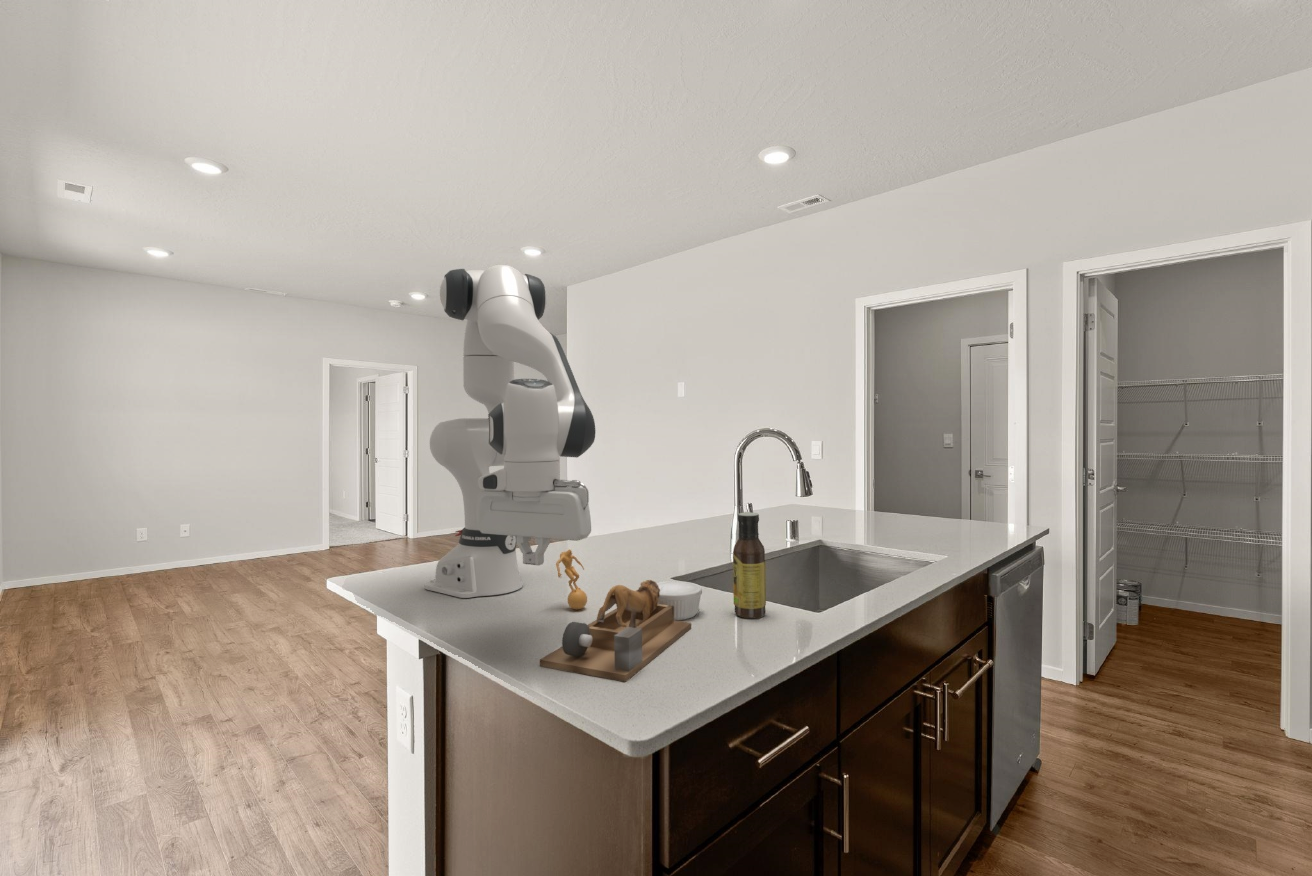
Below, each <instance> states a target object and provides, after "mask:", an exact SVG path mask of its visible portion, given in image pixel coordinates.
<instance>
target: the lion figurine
mask: <svg viewBox="0 0 1312 876" xmlns="http://www.w3.org/2000/svg"><path fill="white" fill-rule="evenodd" d="M657 583H658V582H656V581H654V580H652V579H646V580H643V581H641V582H640V583H639V585H640V586H639V587H638V589H636V590H632V589H631V588H628V587H627V586H625V585H622V584H617V585H615V586H612V587H611V588H610V589H609V591H608V593H607V594H606V596H605V598H604V602H603V605H602V606H601V607H600V608H599V610H598V613H597V616H596V621H597V622H600V623H603V622H604V620H603V619H604V617H605V615H606V612H607V611H609V610H610V609H612V607H614V605H616V606H615V607H616V608H617V614H616V619H617V621H618V624H619V626H621V627H626V624H625V623H623V622H622V614H623V612H624V610H625V609H626V610H627V611H630V612H631V620H630V624H629V627H632V628H636V627H635V622H636V616H637V614H638V613H640V614H642V615H643V622H645V621H646V620H648V619H649V617H650V614H651V613H652V612H653V611H654V610H655V609H656V607H657V604H658V601H659V597H660V589H659V587H658V585H657ZM643 622H642V623H643Z"/></svg>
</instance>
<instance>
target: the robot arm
mask: <svg viewBox="0 0 1312 876" xmlns="http://www.w3.org/2000/svg"><path fill="white" fill-rule="evenodd" d="M439 287H440V289H439V299H440V303H441V305H442V308H443V310H444V311H443V312H444V313H445V314H446V315H447V316H448V317H449V318H452V319H455V320H458V321H460V320H461V321H464V320H466V325H465V330H464V331H465V332H464V337H463V338H464V339H463V355H462V356H463V358H462V359H463V360H462V361H463V363H462V364H463V367H462V368H463V370H462V371H463V375H462V376H463V388H464V391H465V393H466V394H467V395H468V397H470V398H471V399H473V400H474V401H476V402H479V403H480V404H482V405H484V406H485V408H486V409H487V412H488V414H487V416H488V417H487V418H477V417H476V418H467V417H466V418H457V419H456V418H455V419H449V420H445V421H441V422H439V423H438V424H436V426H435V427H434V428H433V430H432V432H431V434H430V438H429V449H430V452H431V455H432V457H433V459H434V460H435V461H436V462H437V463H438V464H439V465H440V466H442V467H443V468H445V469H446V470H447V471H449V473H451V475H452V476H453V477H454V478H455V480H456V482H457V484H458V485H459V487H460V490H461V494H462V501H463V512H464V527H463V528H462V529H460V530H456V531H455V533H457V534H455V537H459V536H460V537H459V540H458V544H456V546H454V547H453V548H452V549H451V550H449V551H448V552H447V553H446V554H445V555H444V556H442V557H441V558H440V559H439V560H438V562H437V564H436V569H435V577H434V579H432V580H429V581H427V582H426V583H425V584H424V589H425V590H428V591H433V592H436V593H441V594H445V595H449V596H451V597H452V596H453V597H457V598H460V599H468V598H475V597H485V596H497V595H503V594H508V593H513V592H515V591H517V590H520V589H522V587H523V582H522V579H521V574H520V571H519V564H518V558H517V550H516V549H517V548H516V547H518V548H519V551H520V553H521V554H522V564H523V565H532V566H537V567H538V566H541V565H543V564H544V563H545V552H546V551H547V549H548V548H549V545H550V543H551V542H550V541H551V540H563V541H577V542H579V541H581V540H584V539H587V538H588V537H589V536H590V534H591V532H592V521H591V511H590V506H589V504H590V503H589V501H590V497H589V493H590V492H589V489H588V488H587V486H586V485H585V484H584V483H582V482H581V481H580V480H577V479H572V480H568V479H561V461H560V459H561V457H563V458H564V457H565V458H576V459H577V458H579V457H580V456H582V455H583V454H585V453H586V452H587V451H588V450H589V449H590V448H591V447H592V445H593V444H594V443H595V440H596V439H595V438H596V425H595V424H596V423H595V418H594V415H593V413H592V411H591V409H590V407H589V406H588V404H587V402H586V401H585V399H584V397H583V395H582V393H581V391H580V388H579V386H578V383H577V381H576V379H575V375H574V373H573V371H572V368H571V365H570V362H569V360H568V359H567V355H566V353H565V350H564V349H563V347H562V345H561V343H560V341H559V339H558V337H557V336H555V335H554V334H553V333H552V332H550V331H548V330H547V329H546V328H545V327H544V326H543V325H542V323H541V322H540V321H539V320H540V319H541V318H543V316H544V313H545V310H546V307H547V301H548V298H547V292H546V287H545V284H544V283H543V281H542V279H541V278H539V277H537V276H535V275H532V274H527V273H525V274H522V273H521V272H520V271H519V270H518V269H517V268H515V267H513V266H512V265H508V264H496V265H492V266H490V267H488V268H486V269H470V270H469V269H468V270H467V269H465V268H457V269H451V270H449V271H448V272H447V273H446V274H444V278H443V280H442V281H441V285H440V286H439ZM514 363H516V364H521V365H523V366H527V367H528V368H531V369H533V370H535V371H537V372H539V373H541V375H543V376H544V377H545V378H546V379H537V378H516V379H515V370H514V369H515V367H514V365H515V364H514ZM498 466H499V467H503V468H501V469H498V470H495V471H493V472H490V467H498ZM532 538H534V542H535V545H537V548H536V549H535V551H533V550H532V547H531V545H530V542H531V541H532Z"/></svg>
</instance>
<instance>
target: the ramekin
mask: <svg viewBox="0 0 1312 876" xmlns="http://www.w3.org/2000/svg"><path fill="white" fill-rule="evenodd" d="M656 583H657V585H658V587H659V589H660V597H659V601H658V604H662V605H670V606H674V620H675V621H683V620H689V619H691V618H693V617H695V616H696V615H697V613H698V612H699V609H700V608H699V607H700V602H701V595H702V593H703V588H702V586H701V585H700V584H697V583H694V582H689V581H684V580H683V581H682V580H681V581H680V580H669V581H660V582H656Z"/></svg>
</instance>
